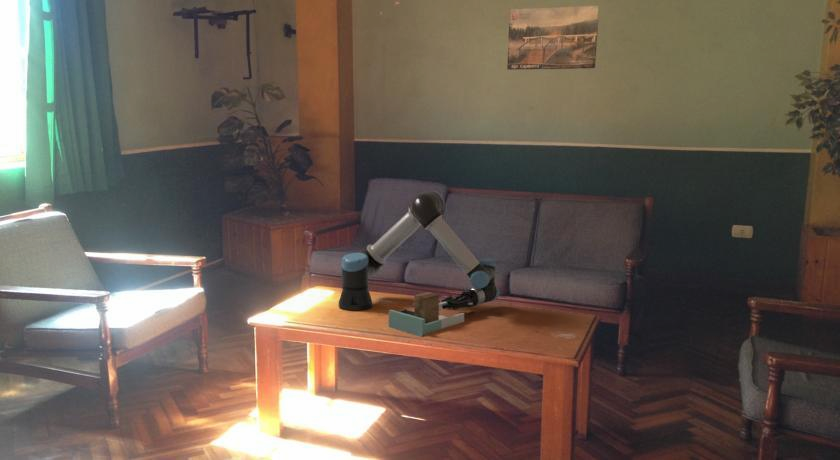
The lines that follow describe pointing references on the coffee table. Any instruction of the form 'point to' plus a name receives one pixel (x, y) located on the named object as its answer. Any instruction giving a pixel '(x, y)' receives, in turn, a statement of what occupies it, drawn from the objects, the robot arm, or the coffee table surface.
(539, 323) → the coffee table surface
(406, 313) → the tray
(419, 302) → the walnut block
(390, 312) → the teal and white tray
